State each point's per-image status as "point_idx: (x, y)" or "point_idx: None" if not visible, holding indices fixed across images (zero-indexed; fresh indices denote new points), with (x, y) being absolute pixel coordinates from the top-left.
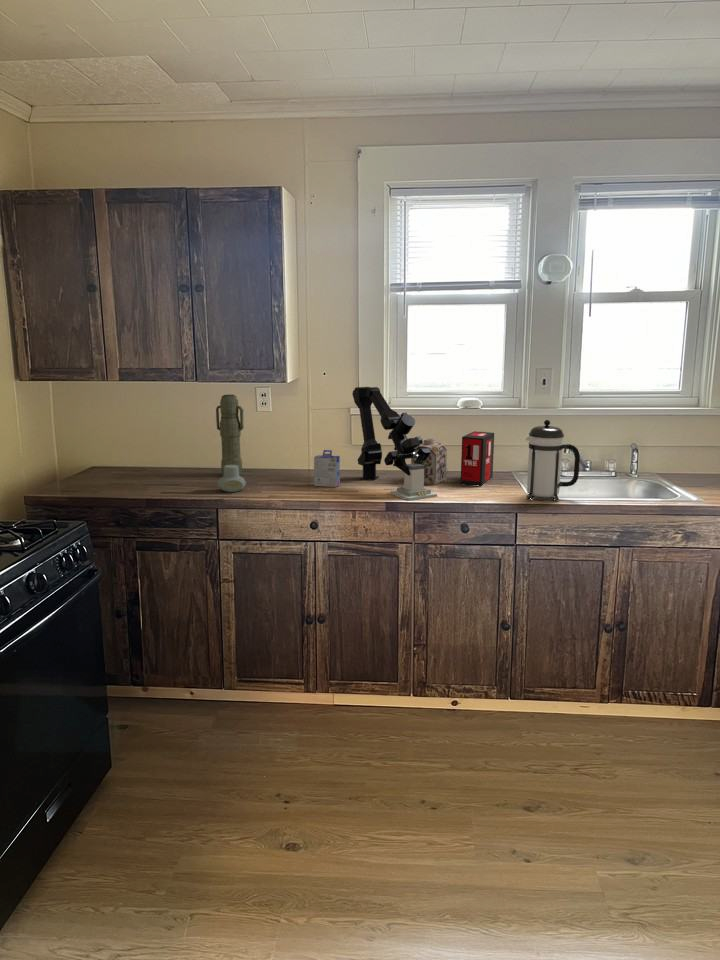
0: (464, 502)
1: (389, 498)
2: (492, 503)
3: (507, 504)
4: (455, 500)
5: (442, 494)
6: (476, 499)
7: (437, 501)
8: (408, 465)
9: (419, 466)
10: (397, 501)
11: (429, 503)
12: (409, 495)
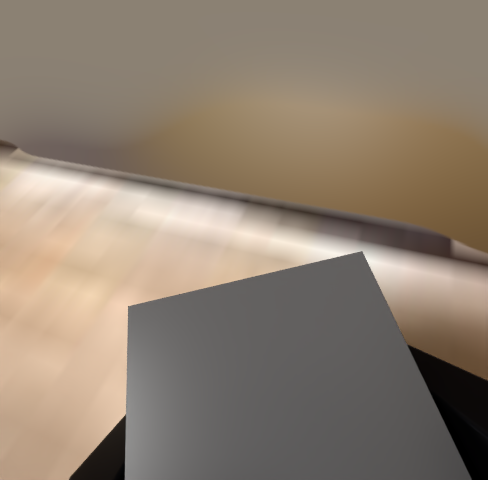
0: (116, 190)
1: (468, 355)
2: (42, 163)
3: (14, 147)
4: (127, 224)
5: (105, 354)
6: (42, 220)
7: (209, 225)
8: (418, 415)
9: (221, 286)
10: (416, 270)
11: (259, 203)
12: None
